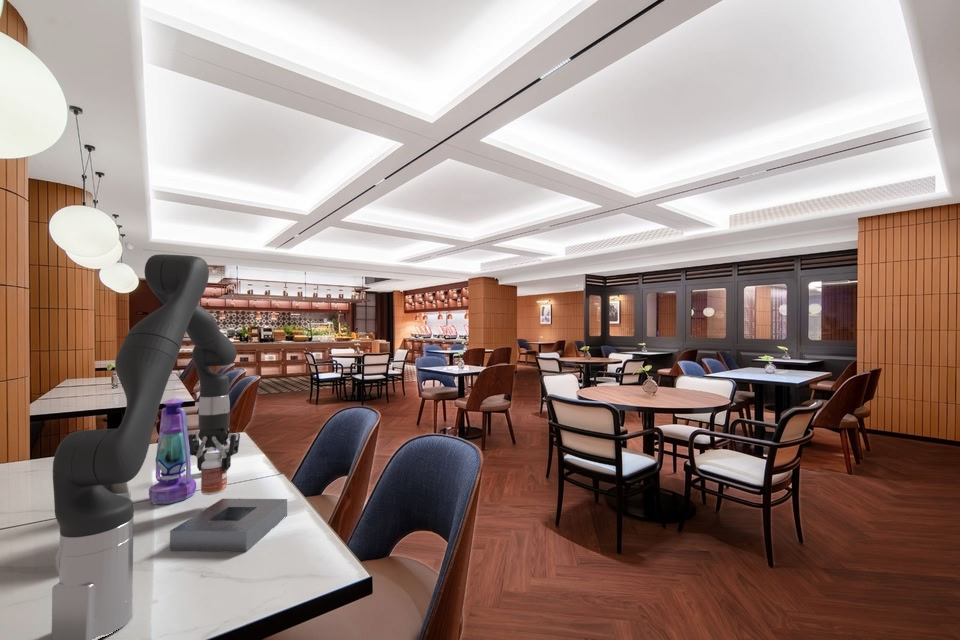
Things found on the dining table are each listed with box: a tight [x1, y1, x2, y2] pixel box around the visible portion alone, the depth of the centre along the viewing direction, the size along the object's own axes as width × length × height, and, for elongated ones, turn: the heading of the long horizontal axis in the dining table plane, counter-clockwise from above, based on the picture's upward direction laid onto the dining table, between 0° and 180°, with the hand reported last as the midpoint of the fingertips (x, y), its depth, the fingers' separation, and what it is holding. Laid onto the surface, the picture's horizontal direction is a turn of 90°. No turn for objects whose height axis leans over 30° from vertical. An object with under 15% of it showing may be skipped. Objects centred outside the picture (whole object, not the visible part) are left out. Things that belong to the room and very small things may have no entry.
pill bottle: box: [200, 450, 228, 496], centre depth 118 cm, size 6×6×11 cm
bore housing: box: [169, 498, 288, 553], centre depth 103 cm, size 18×18×4 cm
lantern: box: [148, 397, 197, 505], centre depth 124 cm, size 13×12×30 cm
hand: (214, 469), depth 118 cm, fingers closed on pill bottle, 6 cm apart
